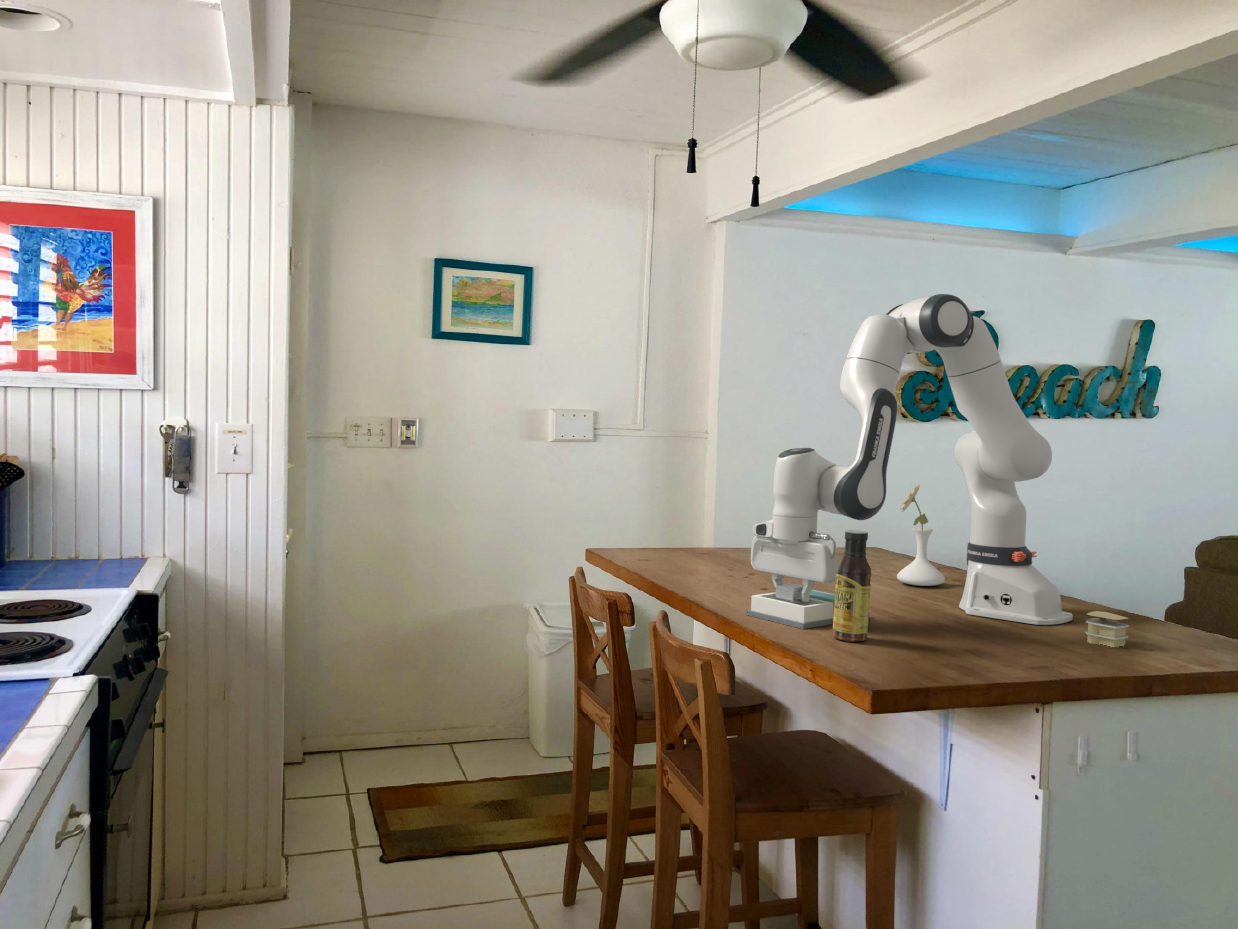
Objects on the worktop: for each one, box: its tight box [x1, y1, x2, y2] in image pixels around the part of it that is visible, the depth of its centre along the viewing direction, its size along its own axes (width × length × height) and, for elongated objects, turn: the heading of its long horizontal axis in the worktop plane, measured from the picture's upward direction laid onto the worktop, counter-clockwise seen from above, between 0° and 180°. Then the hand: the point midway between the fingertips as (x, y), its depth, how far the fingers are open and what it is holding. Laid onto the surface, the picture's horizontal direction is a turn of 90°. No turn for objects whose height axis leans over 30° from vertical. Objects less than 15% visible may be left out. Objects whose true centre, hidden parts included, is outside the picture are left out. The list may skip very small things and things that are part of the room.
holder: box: [746, 589, 871, 630], centre depth 196 cm, size 15×20×4 cm
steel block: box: [775, 582, 808, 606], centre depth 193 cm, size 4×4×5 cm
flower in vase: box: [896, 483, 946, 587], centre depth 237 cm, size 13×11×25 cm
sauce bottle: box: [832, 529, 872, 643], centre depth 176 cm, size 6×6×20 cm
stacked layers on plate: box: [1085, 610, 1130, 648], centre depth 179 cm, size 10×9×6 cm
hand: (792, 598), depth 193 cm, fingers closed on steel block, 4 cm apart
